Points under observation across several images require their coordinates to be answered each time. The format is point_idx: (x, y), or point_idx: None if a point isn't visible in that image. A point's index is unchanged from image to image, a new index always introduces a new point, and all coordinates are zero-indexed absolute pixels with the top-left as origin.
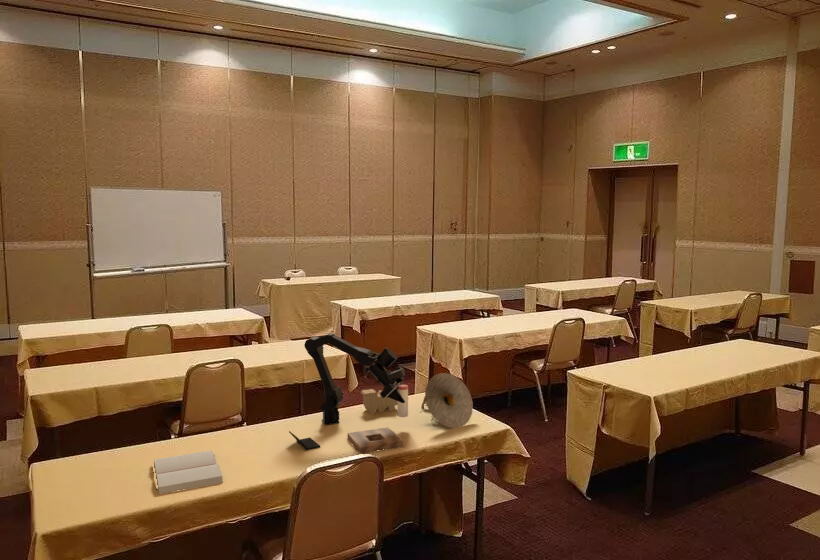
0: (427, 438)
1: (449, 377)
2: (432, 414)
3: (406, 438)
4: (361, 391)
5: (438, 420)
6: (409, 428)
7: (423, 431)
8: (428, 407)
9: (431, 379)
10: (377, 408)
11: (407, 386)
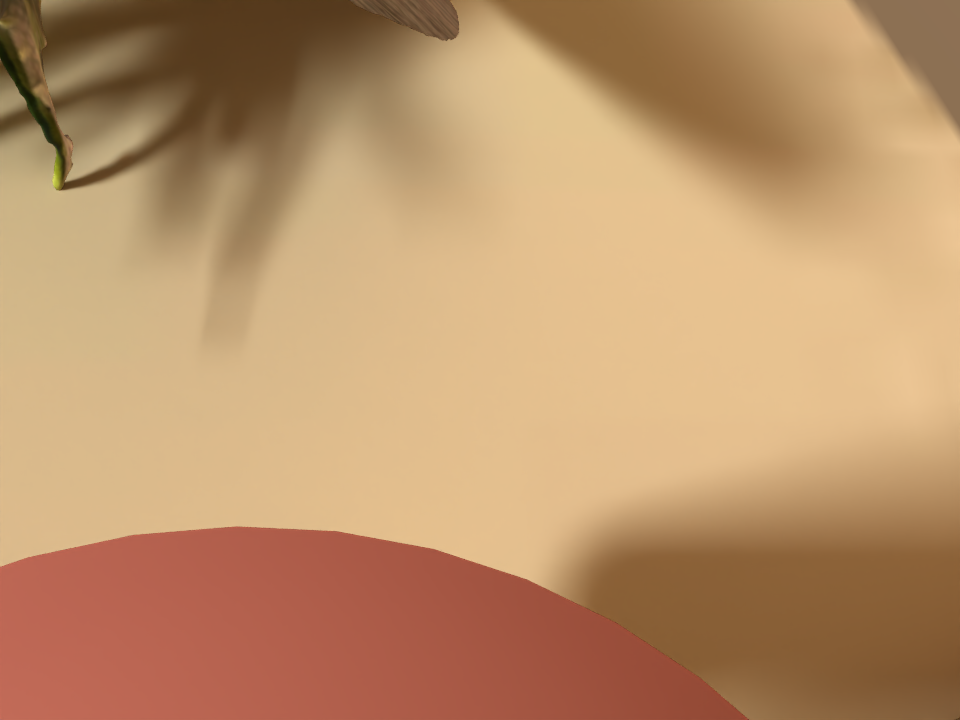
0: (788, 255)
1: None
2: (440, 28)
3: (829, 563)
4: None
5: (445, 2)
6: (380, 531)
7: (512, 307)
8: (387, 11)
9: None
10: None
11: (382, 606)
